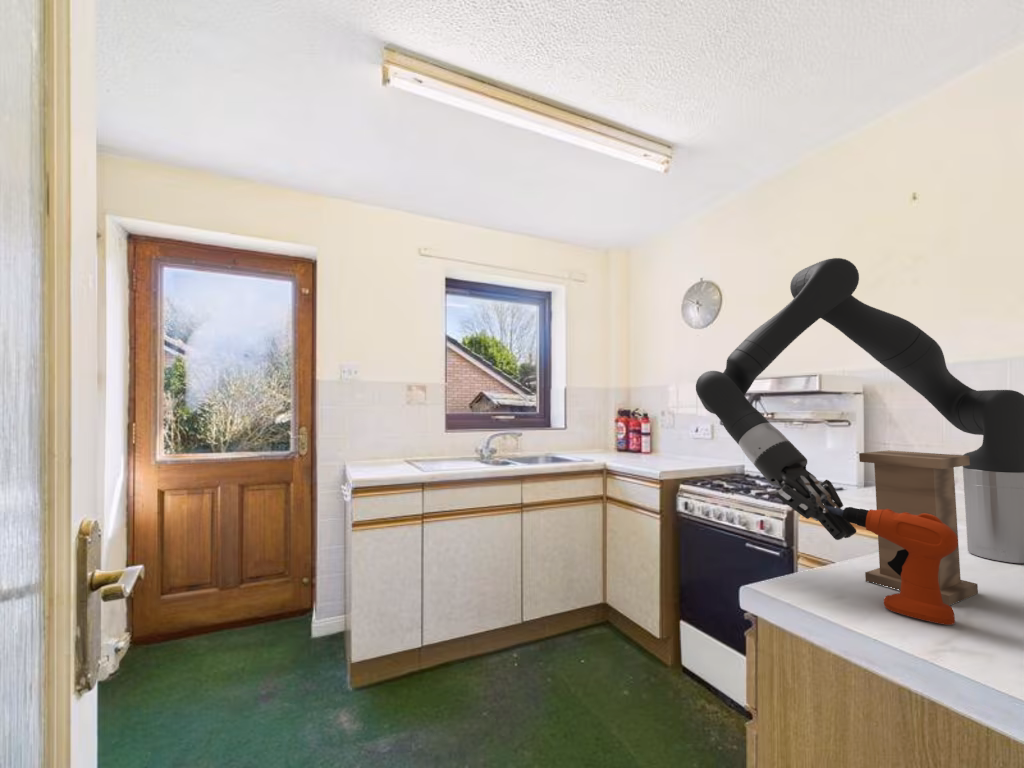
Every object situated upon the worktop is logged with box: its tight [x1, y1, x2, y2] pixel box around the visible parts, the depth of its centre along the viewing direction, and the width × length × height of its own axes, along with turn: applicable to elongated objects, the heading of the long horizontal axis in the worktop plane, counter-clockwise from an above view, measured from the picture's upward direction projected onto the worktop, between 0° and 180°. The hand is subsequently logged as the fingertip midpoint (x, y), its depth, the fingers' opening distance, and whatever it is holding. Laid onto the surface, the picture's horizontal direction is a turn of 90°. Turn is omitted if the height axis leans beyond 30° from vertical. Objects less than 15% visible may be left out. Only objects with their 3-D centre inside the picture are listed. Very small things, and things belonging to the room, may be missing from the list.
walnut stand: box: [858, 450, 979, 606], centre depth 75 cm, size 10×11×22 cm
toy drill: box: [823, 504, 959, 626], centre depth 69 cm, size 5×19×15 cm, turn 39°
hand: (847, 535), depth 72 cm, fingers closed on toy drill
